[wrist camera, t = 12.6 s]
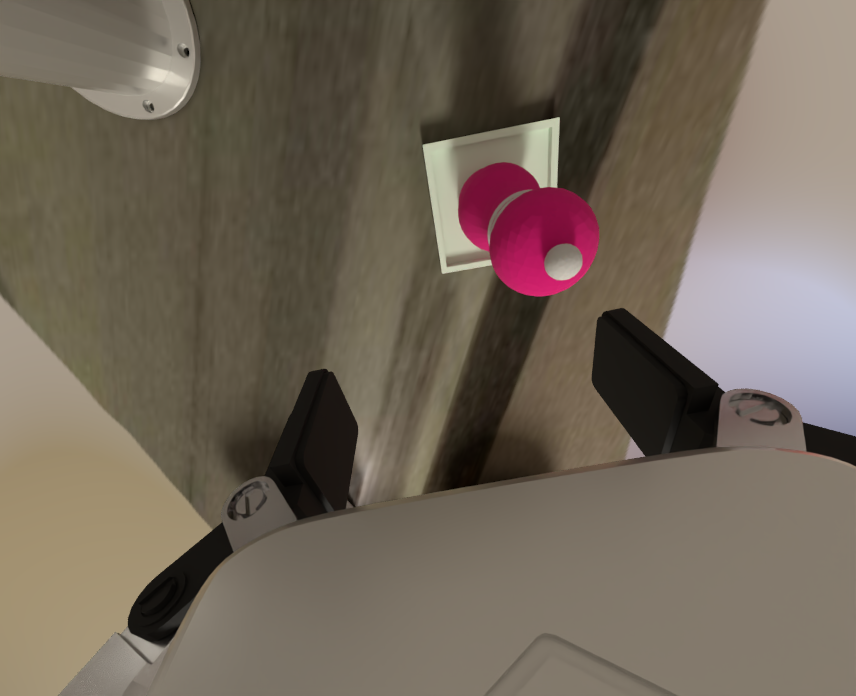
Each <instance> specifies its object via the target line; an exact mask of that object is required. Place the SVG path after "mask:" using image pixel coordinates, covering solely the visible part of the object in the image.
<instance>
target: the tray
mask: <svg viewBox="0 0 856 696" xmlns="http://www.w3.org/2000/svg"><path fill="white" fill-rule="evenodd" d="M559 121H560V117H558V118H553V119H548V120H543V121H538V122H533V123H528V124H523V125H518V126H513V127H508V128H503V129H498V130H493V131H488V132H483V133H478V134H473V135H468V136H463V137H458V138H453V139H448V140H443V141H438V142H433V143H428V144H423V145H422V146H423V152H424V159H425V165H426V172H427V178H428V185H429V192H430V198H431V205H432V211H433V218H434V224H435V231H436V238H437V244H438V251H439V257H440V264H441V270H442V274H443V273H449V272H455V271H460V270H466V269H472V268H478V267H483V266H489V265H492V263H491V259H490V253H489V252H488V251H485V250H482V249H480V248H478V247H477V246H475V245H474V244H473V243H472V242H471V241H470V240H469V239H468V238H467V237H466V236H465V234H464V233H463V231H462V229H461V226H460V223H459V218H458V205H459V196H460V192H461V189H462V187H463V185H464V183H465V182H466V181H467V179H468V178H469V177H470V176H471V175H472V174H473V173H475V172H476V171H478V170H479V169H482V168H484V167H486V166H488V165H491V164H495V163H501V162H507V163H513V164H516V165H519V166H521V167H522V168H524V169H525V170H527V171H528V172H529V173H531V174H532V175H533V176H534V178H535V179H536V181H537V182H538V184H539V186H540V188H544V187H554V188H557V171H558V146H559Z"/></svg>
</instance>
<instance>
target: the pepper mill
mask: <svg viewBox="0 0 856 696" xmlns="http://www.w3.org/2000/svg"><path fill="white" fill-rule="evenodd" d="M458 218H459V223H460V226H461V229H462V231H463V233H464V234H465V236H466V237H467V238H468V239H469V240H470V241H471V242H472V243H473V244H474V245H475V246H477V247H478V248H480V249H482V250H485V251H488V252H489V253H490V259H491V263H492V266H493V268H494V270H495V272H496V274H497V275H498V277H499V278H500V279H501V280H502V281H503V282H504V283H505V284H506V285H507V286H509V287H510V288H511V289H513V290H515V291H517V292H519V293H522V294H525V295H531V296H548V295H552V294H556V293H559V292H561V291H563V290H566V289H568V288H569V287H570V286H572V285H573V284H575V283H576V282H577V281H578V280H579V279H580V278H582V277H583V276H584V274H585V273H586V272H587V270H588V269H589V267H590V266H591V264H592V262H593V260H594V258H595V255H596V252H597V249H598V243H599V226H598V223H597V220H596V216H595V214H594V213H593V211H592V209H591V207H590V206H589V205H588V204H587V203H586V202H585V201H584V200H583V199H581V198H580V197H579V196H578V195H576V194H575V193H573V192H570V191H568V190H565V189H563V188H554V187H544V188H540V186H539V184H538V182H537V181H536V179H535V178H534V176H533V175H532V174H531V173H529V172H528V171H527V170H525V169H524V168H522V167H521V166H519V165H516V164H513V163H507V162H501V163H495V164H491V165H488V166H486V167H484V168H482V169H479V170H478V171H476V172H475V173H473V174H472V175H471V176H470V177H469V178H468V179H467V181H466V182H465V183H464V185H463V187H462V189H461V192H460V196H459V205H458Z"/></svg>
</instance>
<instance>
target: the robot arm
mask: <svg viewBox="0 0 856 696" xmlns="http://www.w3.org/2000/svg"><path fill="white" fill-rule="evenodd" d="M188 49H189V56H188V54H187V50H188ZM200 64H201V56H200V41H199V36H198V30H197V25H196V21H195V18H194V15H193V12H192V9H191V6H190V3H189V0H0V76H5V77H11V78H18V79H24V80H30V81H37V82H43V83H49V84H56V85H62V86H69V87H71V88H73V89H74V90H75V91H77V92H78V93H79V94H81V95H82V96H83V97H85V98H86V99H87V100H89V101H90V102H92V103H94V104H96V105H98V106H99V107H101V108H103V109H105V110H107V111H109V112H112V113H115V114H117V115H120V116H123V117H129V118H134V119H144V120H154V119H160V118H165V117H168V116H170V115H172V114H174V113H176V112H178V111H179V110H180V109H181V108H182V107H183V106H185V105H186V104H187V102H188V101H189V99H190V98H191V96H192V95H193V93H194V90H195V87H196V85H197V82H198V79H199V72H200ZM153 106H154V108H153ZM592 383H593V385H594V387H595V389H596V390H597V392H598V393H599V394H600V396H601V397H602V398H603V400H604V401H605V402H606V404H607V405H608V406H609V408H610V409H611V411H612V412H613V413H614V415H615V416H616V417H617V419H618V420H619V421H620V423H621V424H622V425H623V427H624V428H625V429H626V431H627V432H628V433H629V435H630V436H631V437H632V439H633V440H634V442H635V443H636V444H637V446H638V447H639V448H640V450H641V451H642V452H643V454H644V455H645V456H646V457H640V458H634V459H628V460H622V461H616V462H610V463H604V464H598V465H592V466H586V467H580V468H574V469H568V470H562V471H556V472H550V473H544V474H538V475H533V476H527V477H521V478H515V479H510V480H504V481H498V482H492V483H486V484H481V485H475V486H469V487H464V488H458V489H452V490H447V491H441V492H435V493H430V494H424V495H419V496H413V497H407V498H402V499H396V500H391V501H385V502H379V503H374V504H369V505H364V506H359V507H354V508H349V509H346V504H347V498H348V492H349V486H350V480H351V474H352V467H353V461H354V455H355V449H356V443H357V437H358V425H357V422H356V420H355V418H354V416H353V413H352V411H351V409H350V407H349V405H348V403H347V401H346V399H345V396H344V394H343V392H342V390H341V388H340V386H339V384H338V382H337V379H336V377H335V375H334V373H333V372H328V370H327V369H321V370H316V371H311V372H309V373H308V375H307V377H306V380H305V382H304V385H303V387H302V389H301V392H300V394H299V397H298V399H297V402H296V404H295V406H294V409H293V411H292V413H291V415H290V416H289V418H288V421H287V423H286V426H285V428H284V430H283V433H282V435H281V438H280V440H279V443H278V445H277V447H276V450H275V452H274V455H273V457H272V459H271V462H270V464H269V467H268V469H267V471H266V474H265V476H261V477H255V478H253V479H250V480H248V481H246V482H245V483H243V484H241V485H240V486H239V487H238V488H237V489H235V490H234V491H233V492H232V494H231V495H230V496H229V497H228V498H227V500H226V502H225V504H224V505H223V508H222V512H221V518H222V523H221V524H220V525H218V526H217V527H216V528H215V529H214V530H212V531H211V532H210V533H209V534H208V535H206V536H205V537H204V538H203V539H201V540H200V541H199V542H198V543H197V544H195V545H194V546H193V547H192V548H191V549H189V550H188V551H187V552H186V553H184V554H183V555H182V556H181V557H180V558H179V559H177V560H176V561H175V562H174V563H172V564H171V565H170V566H169V567H167V568H166V569H165V570H164V571H163V572H161V573H160V574H159V575H158V576H157V577H155V578H154V579H153V580H152V581H151V582H150V583H149V584H148V585H147V586H146V587H145V589H144V590H143V591H142V592H141V594H140V595H139V596H138V598H137V599H136V601H135V603H134V605H133V606H132V608H131V611H130V614H129V617H128V626H127V628H126V629H125V630H124V631H123V632H122V633H121V634H119V633H116V632H115V633H114V634H113V635H112V636H111V638H110V639H109V640H108V641H107V642H106V643H105V644H104V645H103V646H102V647H101V649H99V651H98V652H97V653H96V654H95V655H94V656H93V657H92V658H91V659H90V661H89V662H88V663H87V664H86V665H85V666H84V667H83V668H82V669H81V671H80V672H79V673H78V674H77V675H76V676H75V677H74V678H73V679H72V680H71V682H70V683H69V684H68V685H67V686H66V687H65V688H64V689H63V691H62V692H61V693H60V694H59V695H58V696H856V437H855V436H852V435H848V434H844V433H840V432H837V431H833V430H829V429H826V428H822V427H818V426H814V425H811V424H807V423H803V422H802V418H801V415H800V413H799V411H798V410H797V409H796V408H795V407H794V406H793V405H792V404H790V403H789V402H787V401H786V400H784V399H782V398H780V397H778V396H776V395H773V394H771V393H767V392H763V391H760V390H753V389H734V390H730V391H728V392H724V391H723V390H722V389H721V388H719V387H718V383H717V382H715V381H714V380H713V379H711V378H710V377H709V376H708V375H707V374H705V373H704V372H703V371H702V370H700V369H699V368H698V367H697V366H695V365H694V364H693V363H691V362H690V361H689V360H688V359H686V358H685V357H684V356H683V355H682V354H680V353H679V352H678V351H677V350H675V349H674V348H673V347H672V346H670V345H669V344H668V343H667V342H665V341H664V340H663V339H662V338H660V337H659V336H658V335H657V334H655V333H654V332H653V331H652V330H650V329H649V328H648V327H647V326H645V325H644V324H643V323H642V322H640V321H639V320H638V319H637V318H635V317H634V316H633V315H632V314H630V313H629V312H628V311H627V310H625V309H624V308H620V309H615V310H610V311H605V312H603V314H602V317H599V318H598V319H597V327H596V338H595V348H594V359H593V369H592Z"/></svg>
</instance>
